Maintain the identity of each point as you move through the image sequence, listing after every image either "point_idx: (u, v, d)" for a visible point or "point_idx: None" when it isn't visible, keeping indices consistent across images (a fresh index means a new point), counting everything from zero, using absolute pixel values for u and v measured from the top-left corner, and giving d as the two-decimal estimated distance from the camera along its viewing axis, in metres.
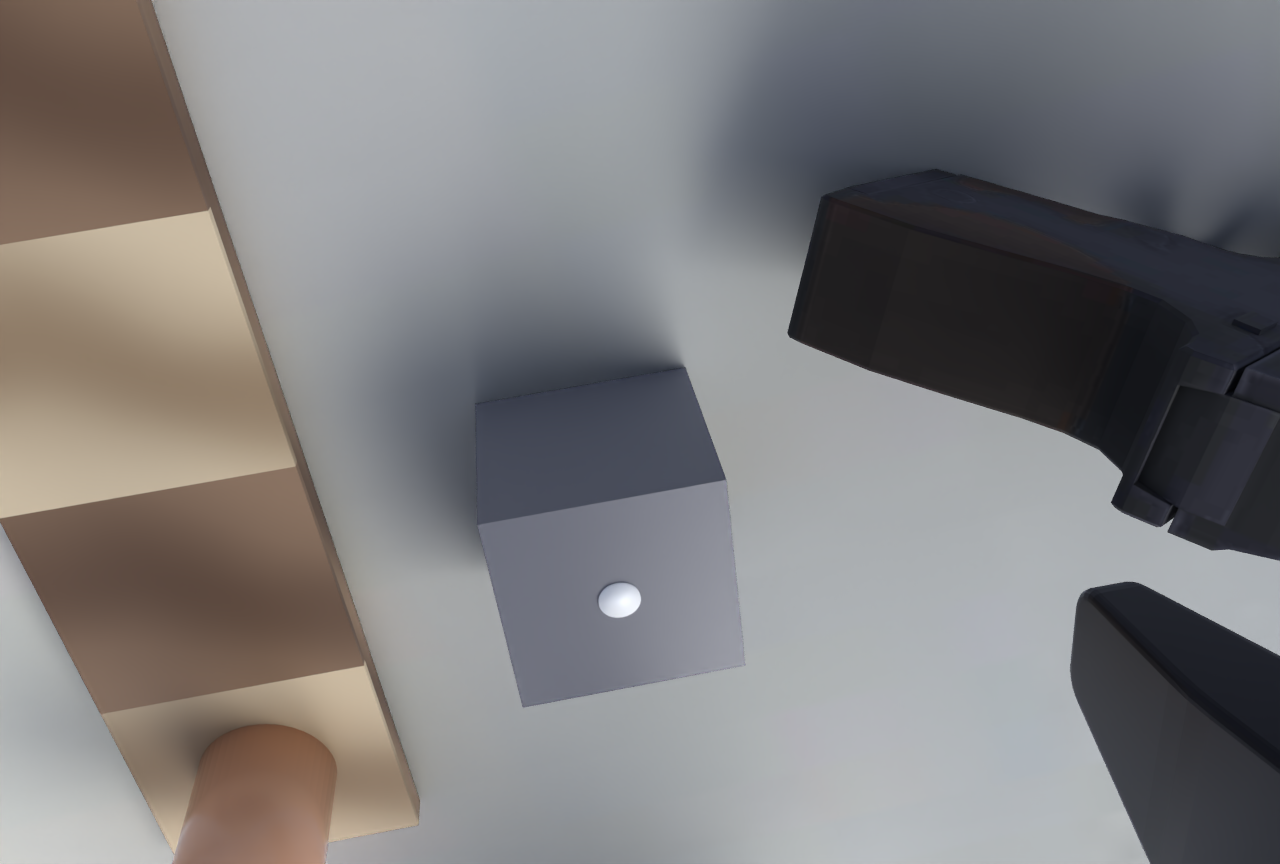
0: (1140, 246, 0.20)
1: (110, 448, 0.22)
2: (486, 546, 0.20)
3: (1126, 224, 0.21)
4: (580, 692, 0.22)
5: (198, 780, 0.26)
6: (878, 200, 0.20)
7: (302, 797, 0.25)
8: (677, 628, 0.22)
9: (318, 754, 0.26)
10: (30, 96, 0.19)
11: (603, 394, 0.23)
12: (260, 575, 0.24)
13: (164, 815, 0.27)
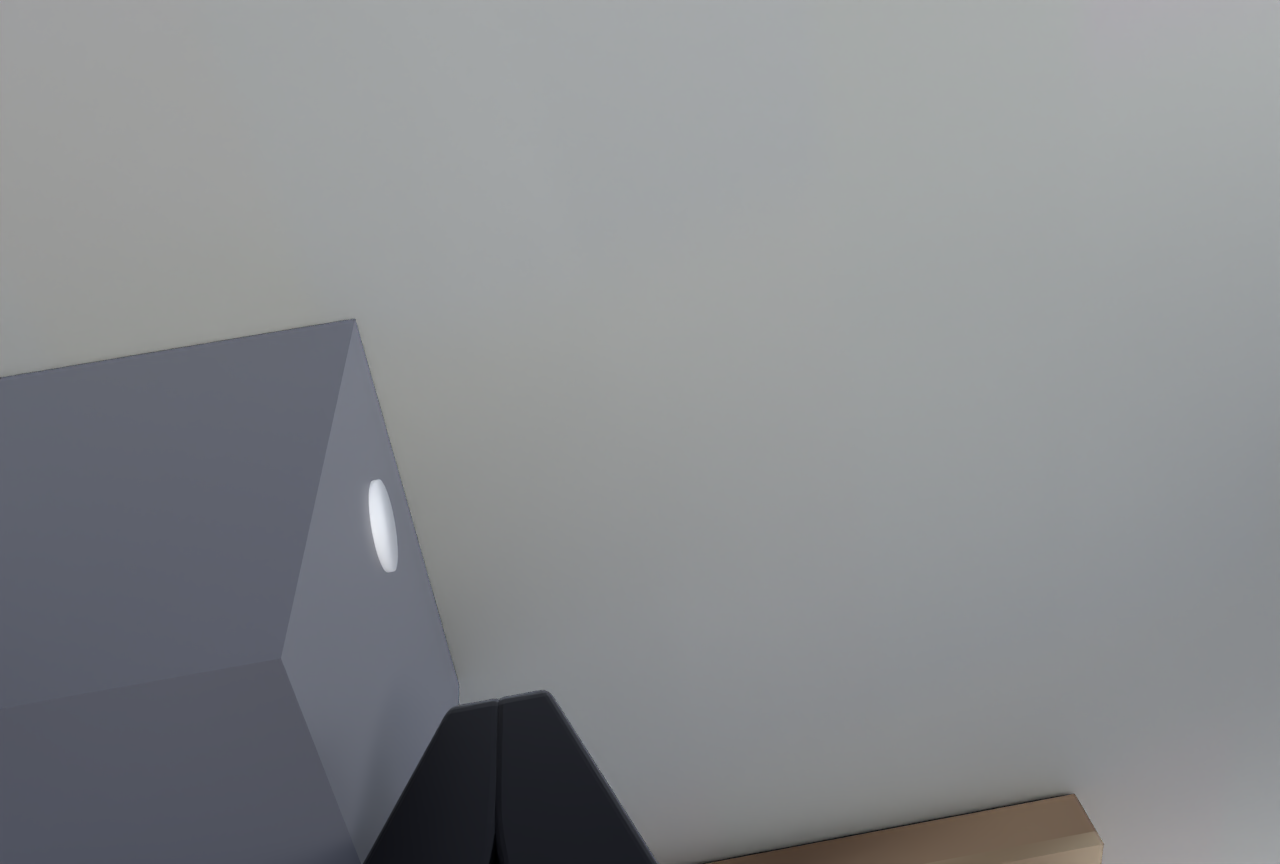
0: None
1: None
2: None
3: None
4: None
5: None
6: None
7: None
8: (132, 847, 0.07)
9: None
10: None
11: None
12: None
13: None
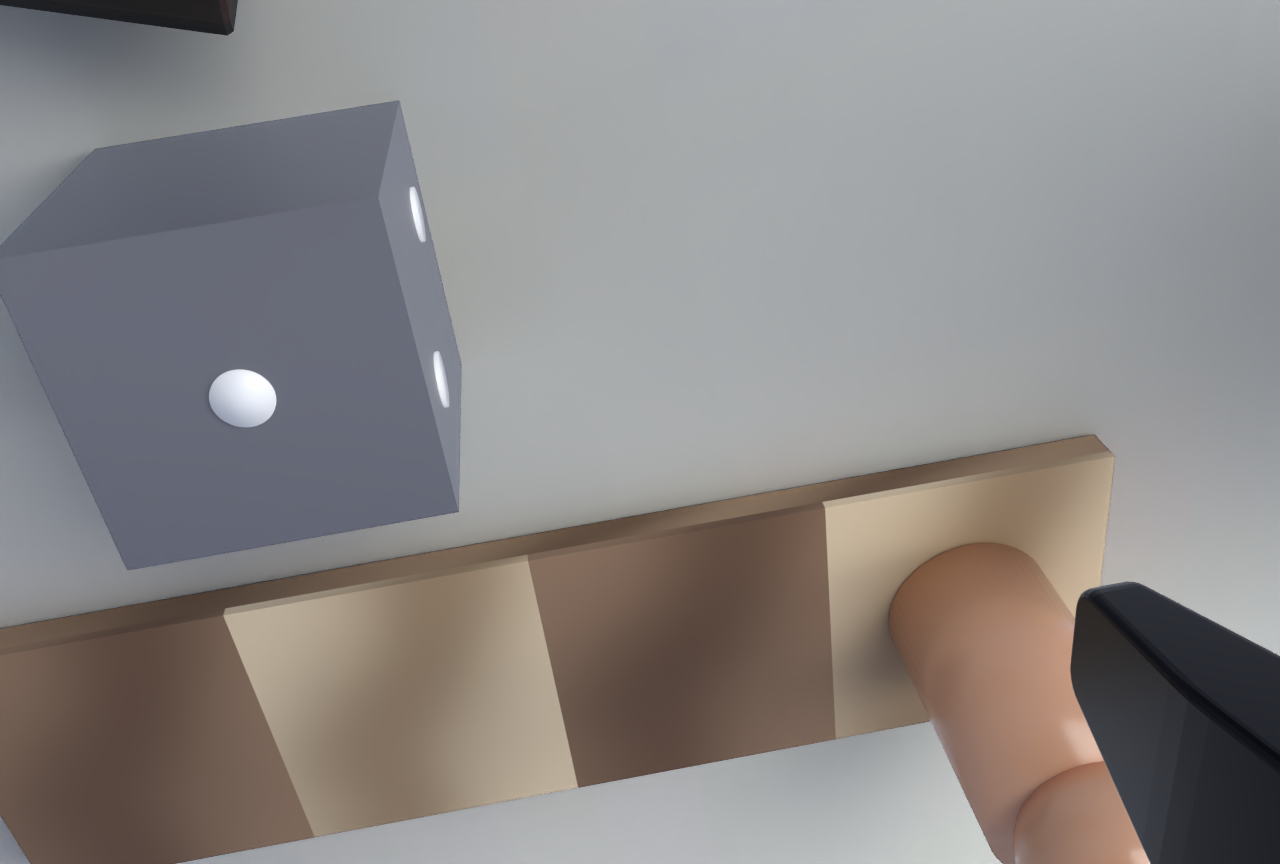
0: None
1: (500, 705, 0.22)
2: (163, 559, 0.15)
3: None
4: (431, 440, 0.15)
5: None
6: None
7: (961, 628, 0.20)
8: (298, 312, 0.14)
9: (945, 568, 0.21)
10: (132, 726, 0.21)
11: None
12: (673, 599, 0.21)
13: None
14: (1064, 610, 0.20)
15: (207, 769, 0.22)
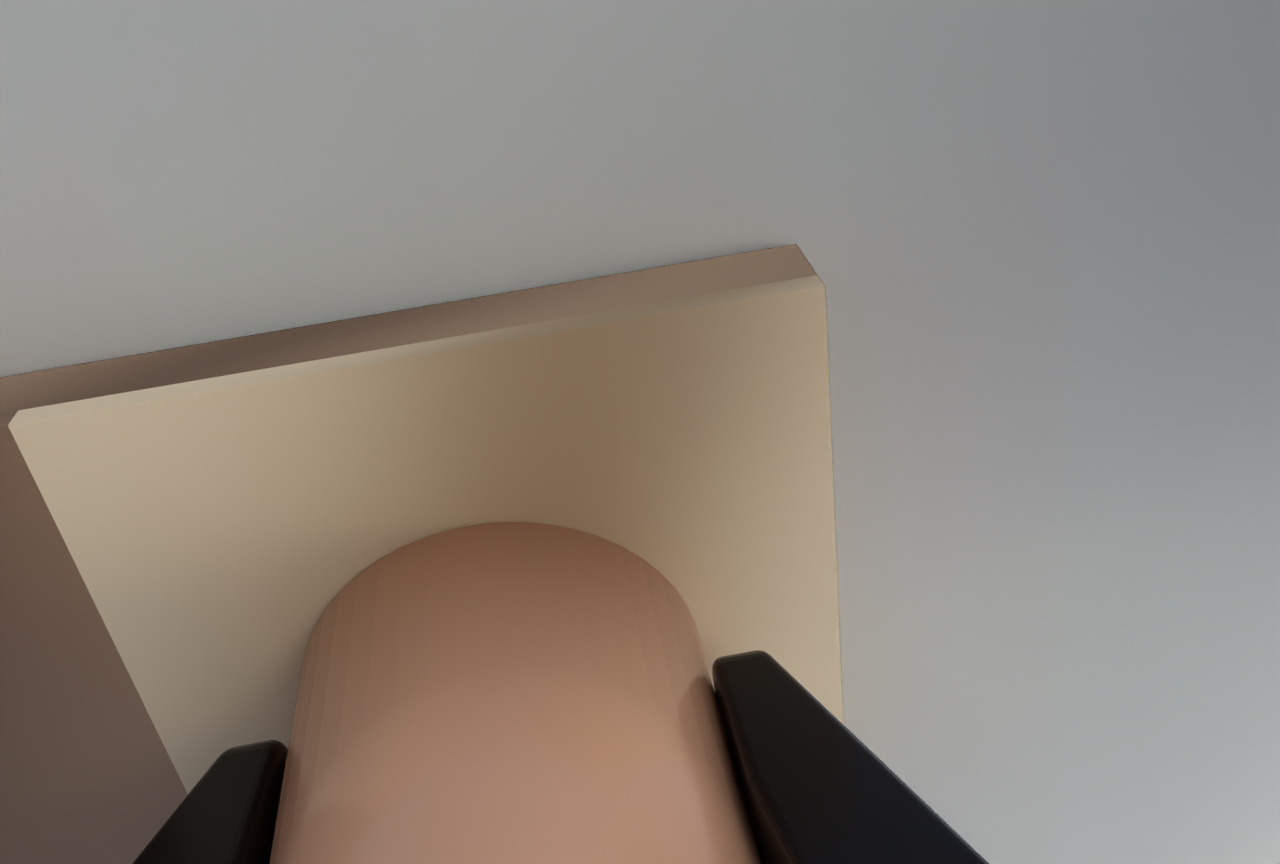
0: None
1: None
2: None
3: None
4: None
5: None
6: None
7: (343, 762, 0.07)
8: None
9: (392, 585, 0.08)
10: None
11: None
12: None
13: None
14: (667, 715, 0.07)
15: None
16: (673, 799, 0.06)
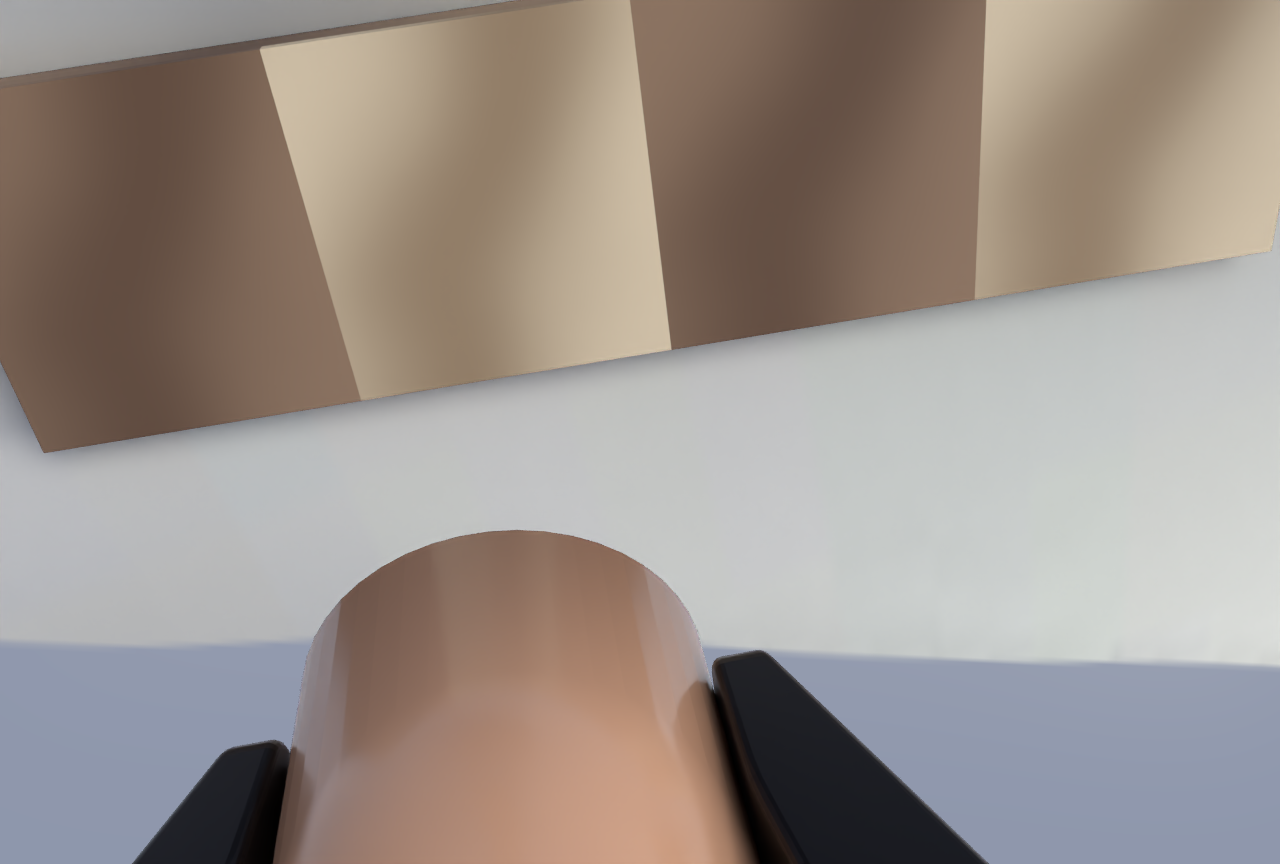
0: None
1: (586, 217, 0.18)
2: None
3: None
4: None
5: None
6: None
7: (344, 772, 0.07)
8: None
9: (394, 593, 0.08)
10: (148, 215, 0.18)
11: None
12: (798, 68, 0.18)
13: (1165, 256, 0.20)
14: (669, 724, 0.07)
15: (236, 288, 0.18)
16: (675, 810, 0.06)
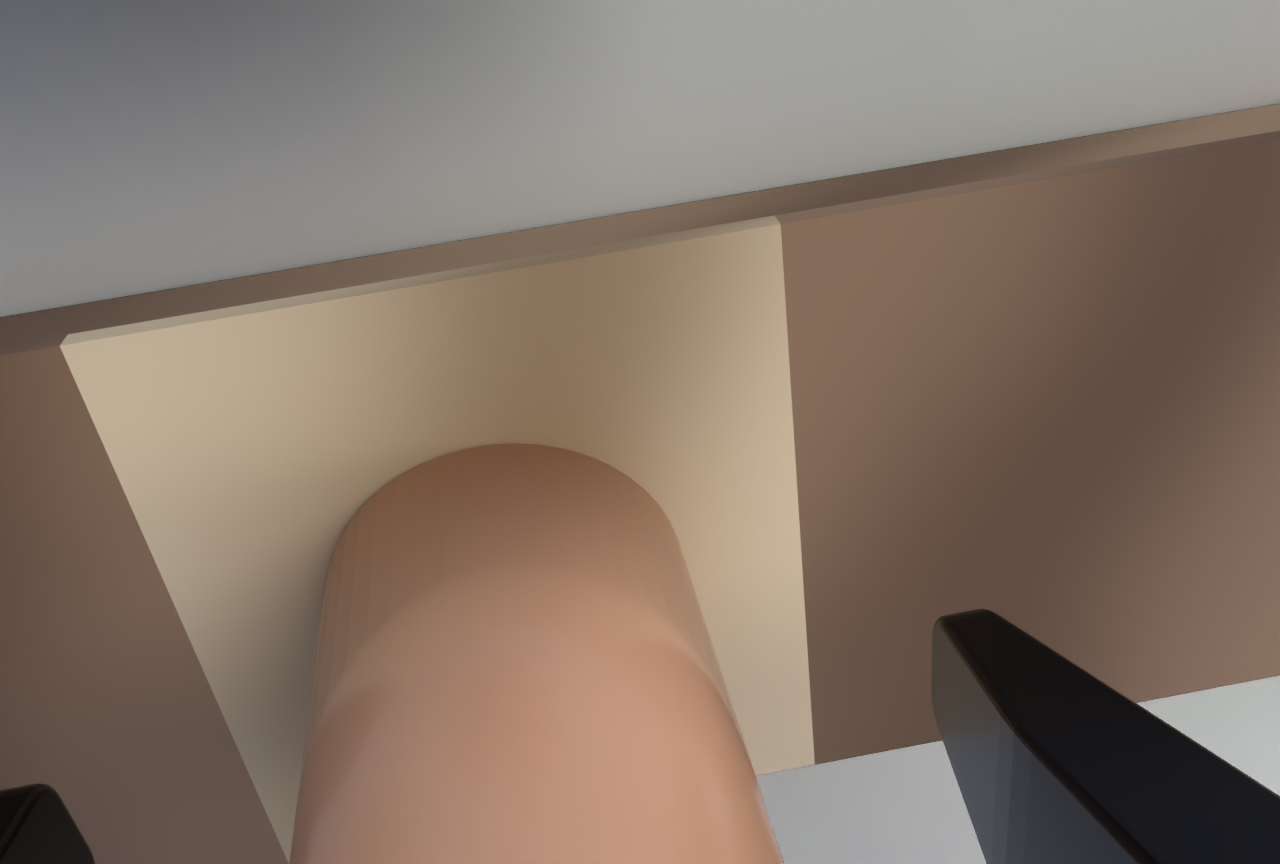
0: None
1: None
2: None
3: None
4: None
5: None
6: None
7: (373, 634, 0.08)
8: None
9: (409, 496, 0.09)
10: None
11: None
12: (1080, 339, 0.10)
13: None
14: (654, 596, 0.08)
15: (55, 724, 0.10)
16: (661, 658, 0.07)
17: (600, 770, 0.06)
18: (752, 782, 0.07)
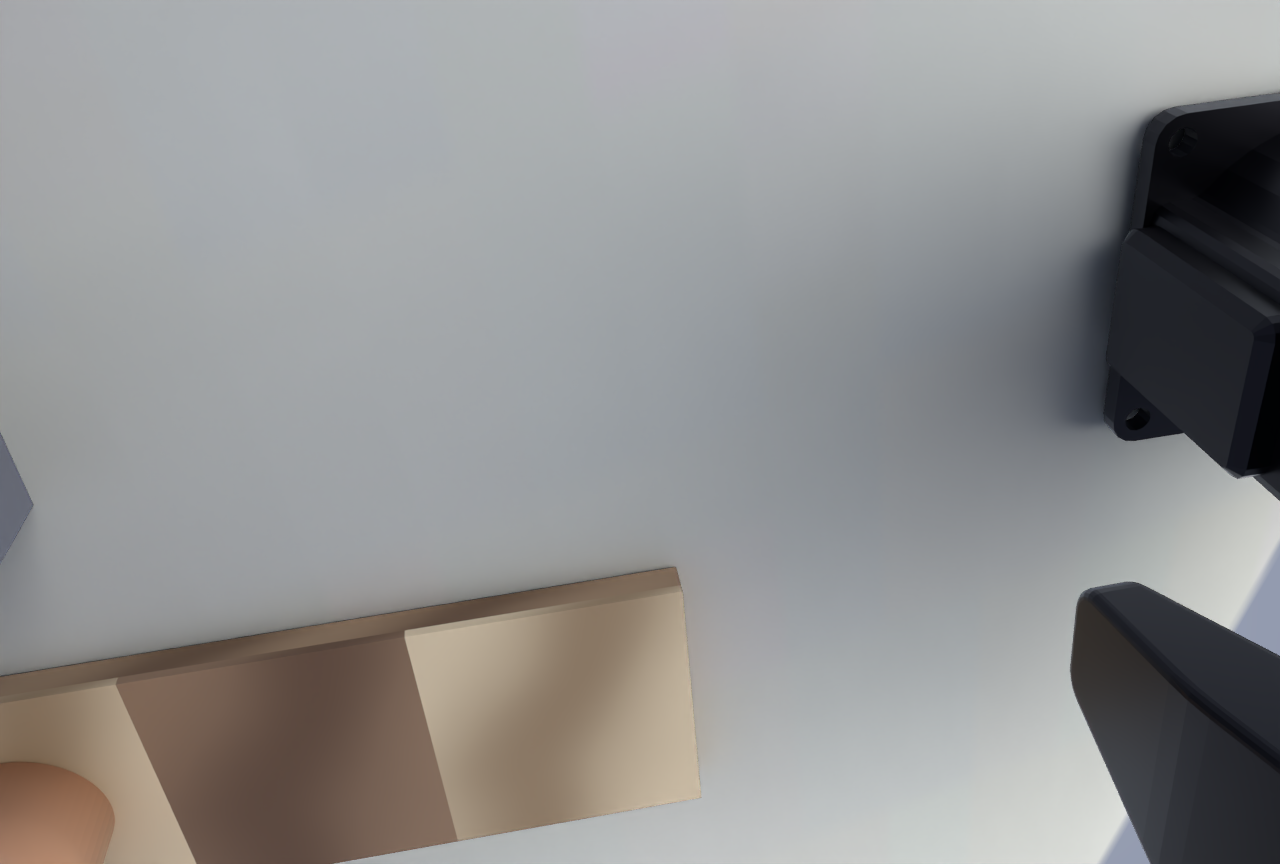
0: None
1: None
2: None
3: None
4: None
5: None
6: None
7: None
8: None
9: None
10: None
11: None
12: (268, 717, 0.22)
13: (612, 806, 0.25)
14: (42, 841, 0.21)
15: None
16: None
17: None
18: None
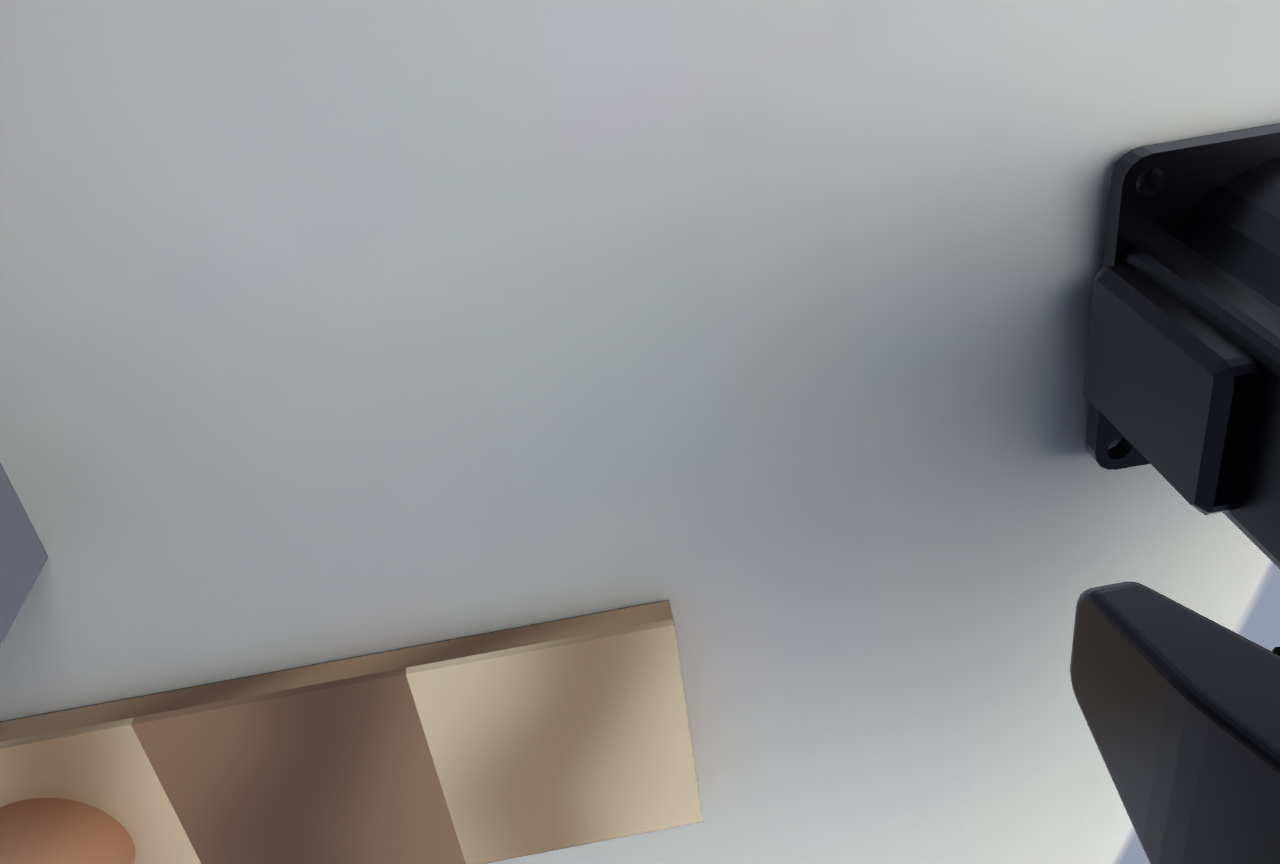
0: None
1: None
2: None
3: None
4: None
5: None
6: None
7: None
8: None
9: None
10: None
11: None
12: (278, 753, 0.23)
13: (616, 831, 0.26)
14: None
15: None
16: None
17: None
18: None
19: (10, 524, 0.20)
